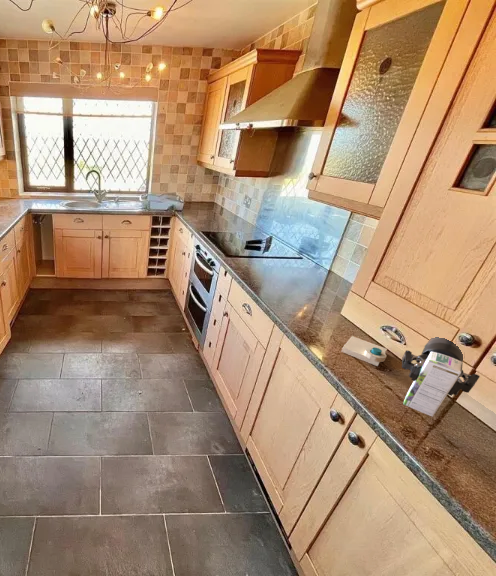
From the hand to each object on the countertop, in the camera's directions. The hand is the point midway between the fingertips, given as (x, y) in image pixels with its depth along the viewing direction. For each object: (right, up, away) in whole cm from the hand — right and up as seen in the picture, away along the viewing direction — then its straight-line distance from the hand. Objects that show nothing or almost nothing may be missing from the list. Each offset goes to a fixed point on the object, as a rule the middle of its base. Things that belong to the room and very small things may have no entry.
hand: (432, 384), depth 73 cm
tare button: (+8, +2, +25) cm, 27 cm away
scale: (+9, +1, +31) cm, 32 cm away
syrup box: (+2, -7, +5) cm, 9 cm away
